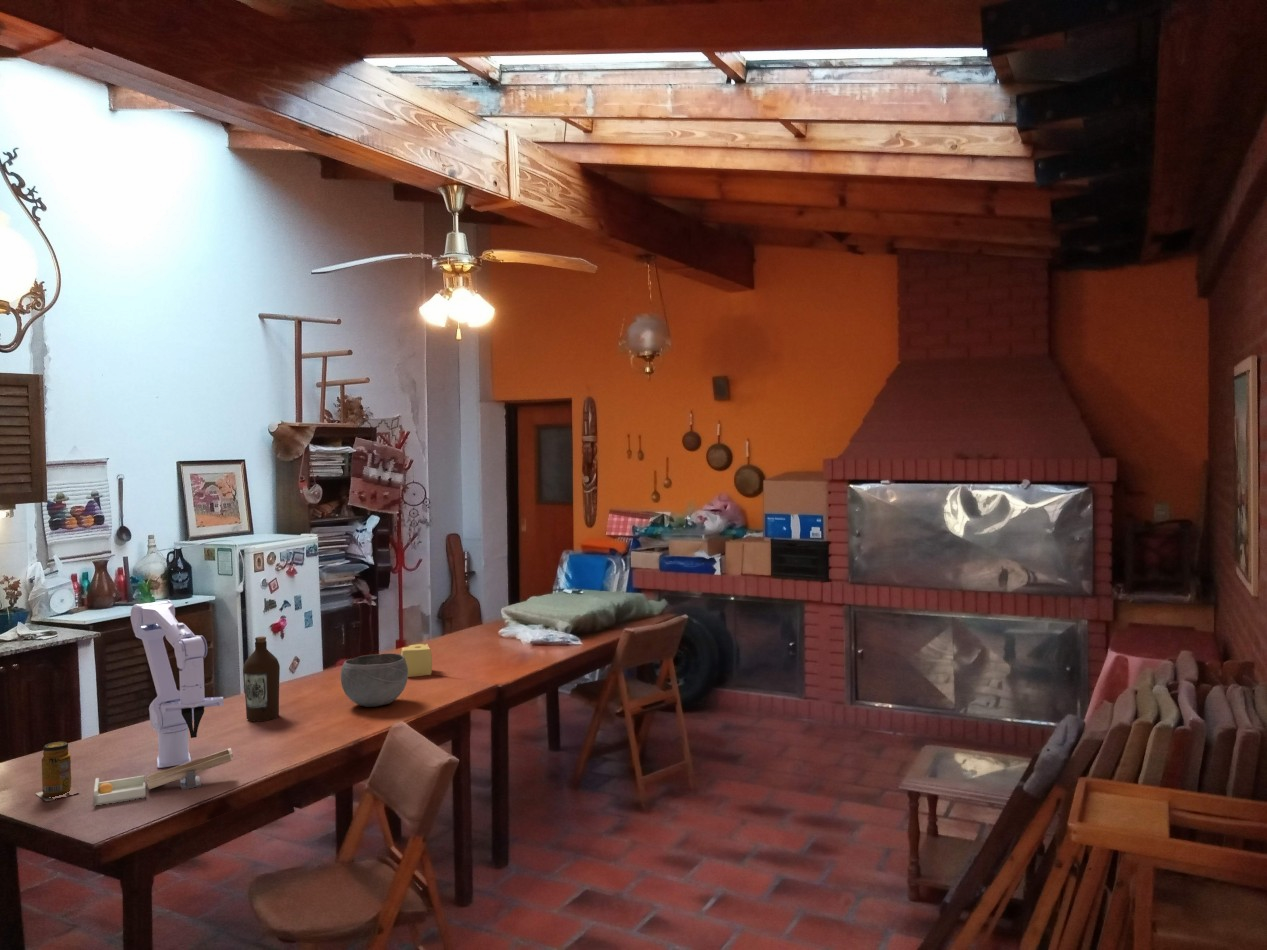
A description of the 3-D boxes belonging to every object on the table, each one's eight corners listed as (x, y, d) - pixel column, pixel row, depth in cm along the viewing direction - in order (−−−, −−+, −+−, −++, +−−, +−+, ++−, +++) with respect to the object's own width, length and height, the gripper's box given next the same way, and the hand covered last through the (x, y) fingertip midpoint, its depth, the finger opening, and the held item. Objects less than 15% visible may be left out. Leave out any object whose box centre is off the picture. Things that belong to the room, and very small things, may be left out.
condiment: (68, 786, 239) (66, 738, 239) (79, 794, 233) (78, 745, 233) (35, 794, 234) (33, 745, 234) (46, 802, 228) (44, 752, 228)
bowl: (417, 696, 321) (416, 651, 320) (395, 713, 300) (394, 666, 299) (356, 695, 323) (355, 651, 323) (330, 713, 302) (329, 665, 302)
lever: (148, 777, 242) (146, 769, 242) (230, 749, 251) (228, 741, 251) (149, 790, 233) (146, 782, 232) (234, 760, 241) (232, 753, 241)
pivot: (180, 781, 241) (179, 764, 241) (199, 778, 243) (198, 761, 243) (181, 789, 235) (180, 773, 235) (201, 786, 237) (200, 769, 237)
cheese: (400, 671, 357) (399, 645, 357) (430, 669, 361) (429, 643, 360) (402, 678, 347) (401, 650, 347) (432, 675, 351) (432, 648, 350)
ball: (96, 790, 231) (103, 779, 232) (107, 795, 232) (115, 784, 233) (95, 794, 228) (103, 782, 229) (107, 799, 229) (115, 788, 230)
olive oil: (254, 712, 304) (252, 634, 304) (287, 712, 303) (284, 634, 303) (237, 722, 294) (235, 640, 293) (271, 722, 293) (268, 640, 292)
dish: (96, 792, 234) (95, 778, 234) (145, 784, 239) (144, 770, 239) (94, 806, 225) (94, 791, 225) (145, 797, 230) (145, 783, 230)
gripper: (160, 691, 240) (162, 745, 240) (223, 684, 246) (225, 736, 247) (160, 685, 246) (162, 737, 247) (222, 678, 253) (223, 729, 253)
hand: (193, 736), depth 247 cm, fingers closed
